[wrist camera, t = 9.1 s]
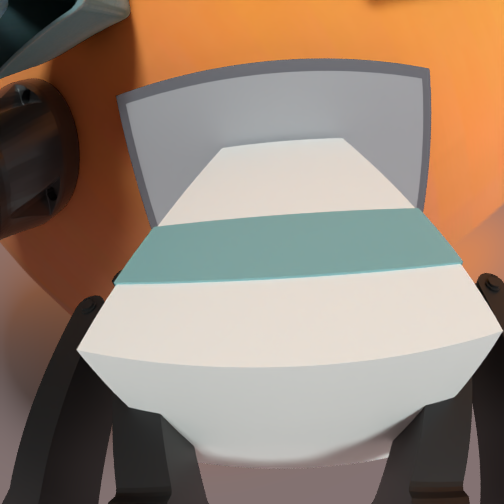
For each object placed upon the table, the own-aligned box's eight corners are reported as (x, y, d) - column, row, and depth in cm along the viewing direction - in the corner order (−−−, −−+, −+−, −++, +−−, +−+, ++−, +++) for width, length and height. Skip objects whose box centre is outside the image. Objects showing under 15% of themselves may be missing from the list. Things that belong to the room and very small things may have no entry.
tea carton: (239, 248, 19) (193, 461, 8) (221, 147, 15) (73, 347, 4) (343, 242, 18) (393, 456, 7) (342, 137, 14) (506, 327, 3)
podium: (182, 268, 26) (172, 291, 23) (136, 92, 17) (113, 96, 14) (398, 255, 23) (410, 278, 20) (409, 68, 14) (431, 68, 11)
